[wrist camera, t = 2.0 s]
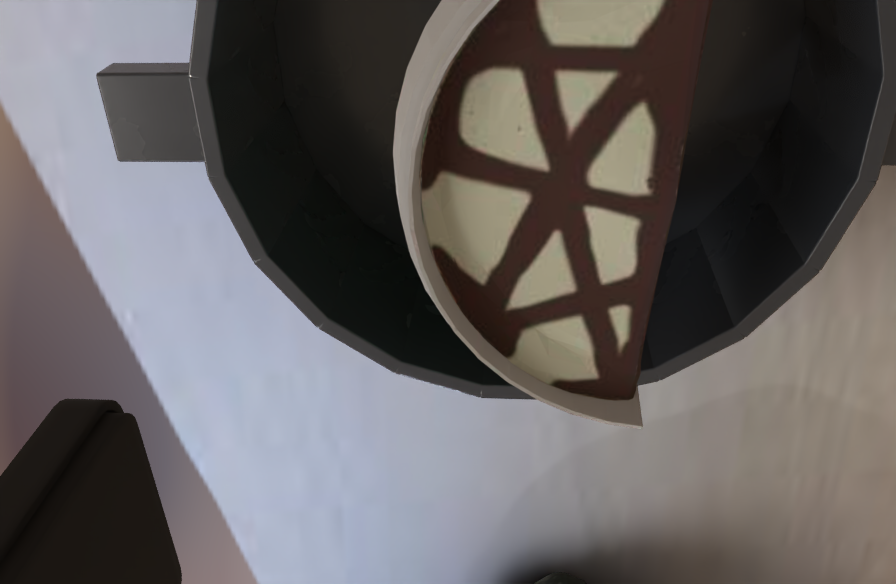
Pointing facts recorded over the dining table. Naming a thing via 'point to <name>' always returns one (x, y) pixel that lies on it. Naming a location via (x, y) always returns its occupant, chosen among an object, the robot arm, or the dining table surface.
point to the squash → (560, 579)
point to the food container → (548, 183)
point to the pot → (373, 177)
